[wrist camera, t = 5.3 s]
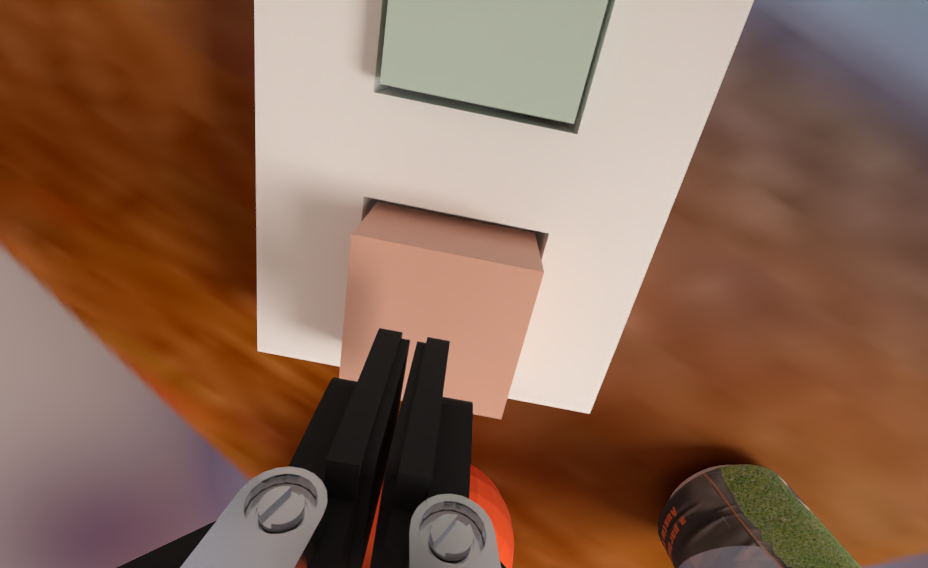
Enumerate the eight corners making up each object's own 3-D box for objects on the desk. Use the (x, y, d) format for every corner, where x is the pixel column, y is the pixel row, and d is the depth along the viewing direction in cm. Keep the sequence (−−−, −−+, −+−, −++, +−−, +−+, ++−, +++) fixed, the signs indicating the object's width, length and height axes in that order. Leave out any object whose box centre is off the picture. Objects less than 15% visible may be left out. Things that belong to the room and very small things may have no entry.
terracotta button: (535, 233, 15) (543, 272, 12) (500, 361, 17) (500, 419, 14) (378, 201, 15) (351, 234, 12) (363, 335, 17) (337, 388, 14)
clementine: (326, 474, 23) (261, 633, 17) (394, 383, 20) (349, 530, 14) (460, 541, 25) (448, 708, 18) (540, 464, 22) (560, 629, 16)
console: (937, -639, 9) (1127, -937, 6) (576, 364, 19) (589, 413, 17) (321, -798, 9) (243, -1188, 6) (290, 309, 19) (257, 351, 16)
